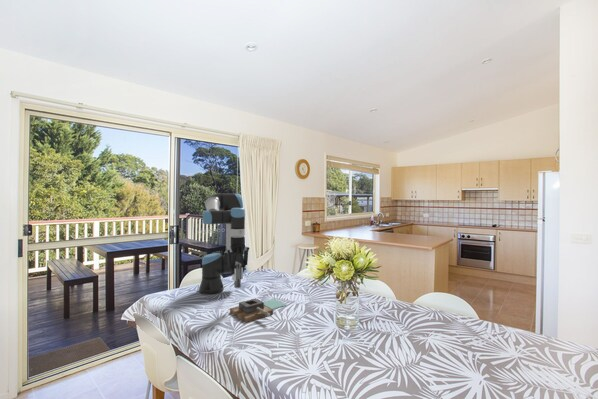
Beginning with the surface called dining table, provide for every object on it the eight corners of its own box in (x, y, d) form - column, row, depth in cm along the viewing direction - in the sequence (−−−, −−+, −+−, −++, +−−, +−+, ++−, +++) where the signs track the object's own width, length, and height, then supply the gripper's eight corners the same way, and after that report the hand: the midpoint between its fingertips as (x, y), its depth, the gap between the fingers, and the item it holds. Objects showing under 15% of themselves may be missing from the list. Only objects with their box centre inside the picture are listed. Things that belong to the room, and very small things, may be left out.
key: (232, 286, 162) (232, 262, 162) (237, 284, 165) (237, 261, 164) (237, 288, 158) (237, 264, 157) (243, 287, 160) (243, 263, 160)
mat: (259, 303, 168) (259, 302, 168) (274, 299, 174) (274, 298, 174) (272, 309, 159) (272, 308, 159) (286, 305, 165) (286, 304, 165)
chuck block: (230, 312, 155) (230, 301, 155) (256, 305, 165) (256, 295, 165) (254, 327, 136) (254, 316, 136) (282, 318, 147) (282, 307, 147)
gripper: (227, 238, 152) (226, 284, 153) (254, 235, 163) (254, 278, 164) (220, 236, 158) (220, 280, 159) (247, 234, 169) (247, 275, 169)
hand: (237, 279), depth 161 cm, fingers closed on key, 3 cm apart
